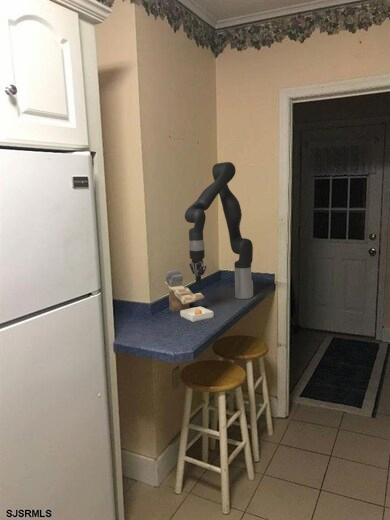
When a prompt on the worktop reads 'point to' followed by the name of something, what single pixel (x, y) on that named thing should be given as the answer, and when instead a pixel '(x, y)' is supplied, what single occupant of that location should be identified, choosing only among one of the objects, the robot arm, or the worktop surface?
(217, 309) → the worktop surface
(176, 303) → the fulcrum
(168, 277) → the lever
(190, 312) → the dish
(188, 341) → the worktop surface
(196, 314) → the ball
